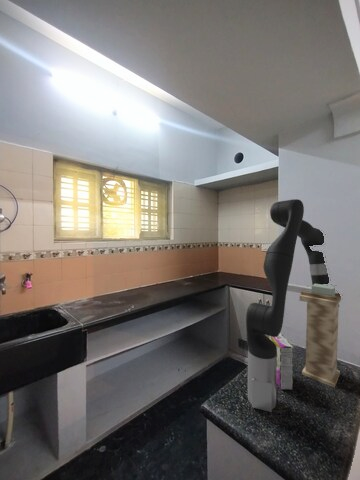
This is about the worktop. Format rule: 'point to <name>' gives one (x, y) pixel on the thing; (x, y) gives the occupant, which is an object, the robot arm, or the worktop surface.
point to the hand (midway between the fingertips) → (325, 308)
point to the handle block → (313, 289)
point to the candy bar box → (284, 362)
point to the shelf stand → (321, 337)
